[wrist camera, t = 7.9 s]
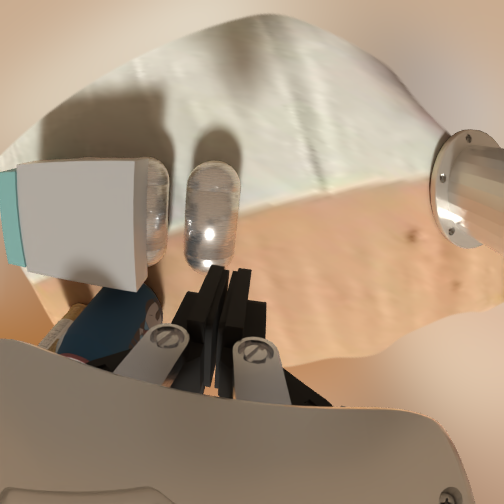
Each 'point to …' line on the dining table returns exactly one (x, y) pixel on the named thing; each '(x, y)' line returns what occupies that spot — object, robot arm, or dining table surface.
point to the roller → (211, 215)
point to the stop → (11, 218)
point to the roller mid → (156, 210)
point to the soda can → (111, 324)
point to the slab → (85, 219)
